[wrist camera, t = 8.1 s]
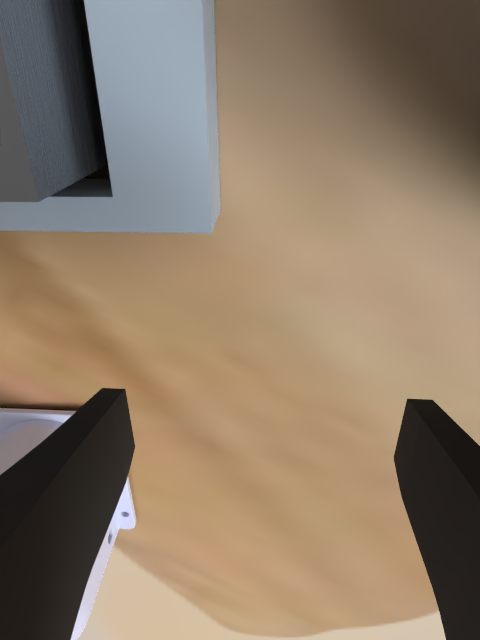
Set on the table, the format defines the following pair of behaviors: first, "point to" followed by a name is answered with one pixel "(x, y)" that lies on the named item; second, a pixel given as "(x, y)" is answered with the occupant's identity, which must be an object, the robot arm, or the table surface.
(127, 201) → the slotted pale blue plate
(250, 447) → the table surface
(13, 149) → the tall dark grey prism
